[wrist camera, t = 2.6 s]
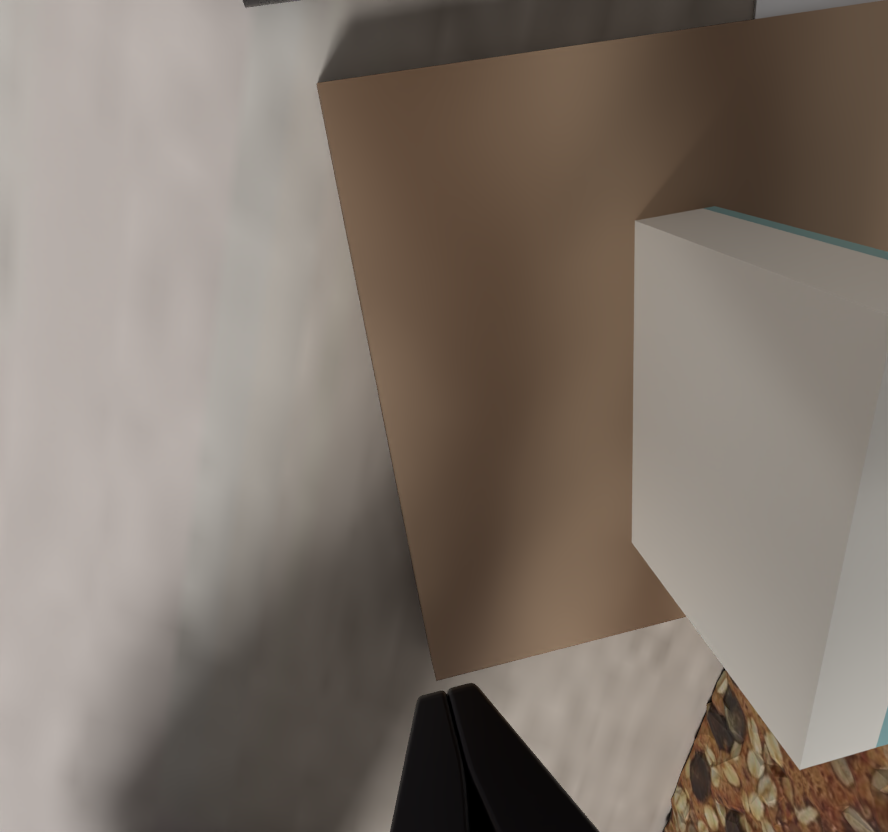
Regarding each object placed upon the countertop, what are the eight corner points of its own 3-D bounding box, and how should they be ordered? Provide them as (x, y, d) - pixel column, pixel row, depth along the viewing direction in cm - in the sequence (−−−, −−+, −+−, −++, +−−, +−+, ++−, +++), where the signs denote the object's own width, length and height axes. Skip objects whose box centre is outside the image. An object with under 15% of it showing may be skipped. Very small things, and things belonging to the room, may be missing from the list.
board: (429, 650, 20) (436, 680, 19) (316, 84, 13) (317, 82, 12) (882, 536, 22) (912, 558, 21) (1017, -19, 14) (1073, -28, 13)
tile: (631, 542, 18) (799, 769, 12) (634, 221, 14) (895, 317, 8) (694, 527, 18) (889, 743, 12) (715, 205, 14) (1029, 289, 8)
